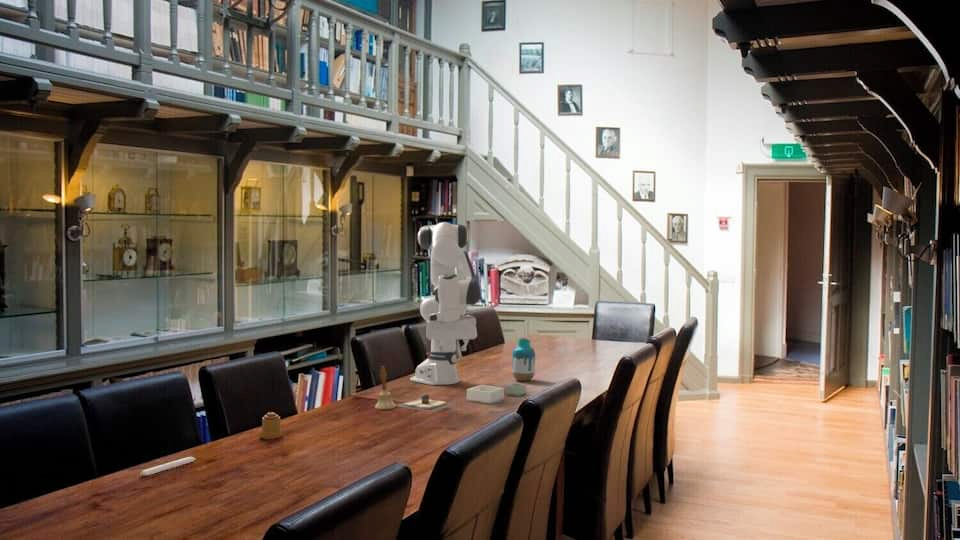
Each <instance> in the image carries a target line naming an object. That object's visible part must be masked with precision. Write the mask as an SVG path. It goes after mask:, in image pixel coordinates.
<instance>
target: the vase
mask: <svg viewBox="0 0 960 540" xmlns="http://www.w3.org/2000/svg"><path fill="white" fill-rule="evenodd" d="M511 356H512V357H511V371H512V372H511V373H512V376H513V378H514V379H515V380H517V381H520V382H528V381H531V380H532V379H533V378H534V377H535V372H536V371H535V370H536V351H535V349H534V348H533V347H531V339H529V338H518V339H517V345H516V347H514V348H513V350H512V355H511Z"/></svg>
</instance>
